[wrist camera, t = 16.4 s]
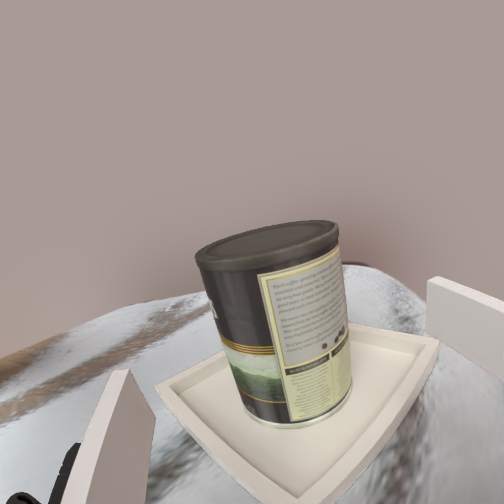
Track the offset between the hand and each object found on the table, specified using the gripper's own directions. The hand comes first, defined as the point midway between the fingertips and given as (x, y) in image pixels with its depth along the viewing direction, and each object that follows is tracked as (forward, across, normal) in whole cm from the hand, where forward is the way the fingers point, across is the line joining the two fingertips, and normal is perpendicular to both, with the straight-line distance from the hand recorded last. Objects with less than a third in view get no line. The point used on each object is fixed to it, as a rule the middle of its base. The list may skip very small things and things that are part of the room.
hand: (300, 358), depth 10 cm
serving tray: (+10, +2, -12) cm, 16 cm away
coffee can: (+10, +2, -11) cm, 15 cm away
